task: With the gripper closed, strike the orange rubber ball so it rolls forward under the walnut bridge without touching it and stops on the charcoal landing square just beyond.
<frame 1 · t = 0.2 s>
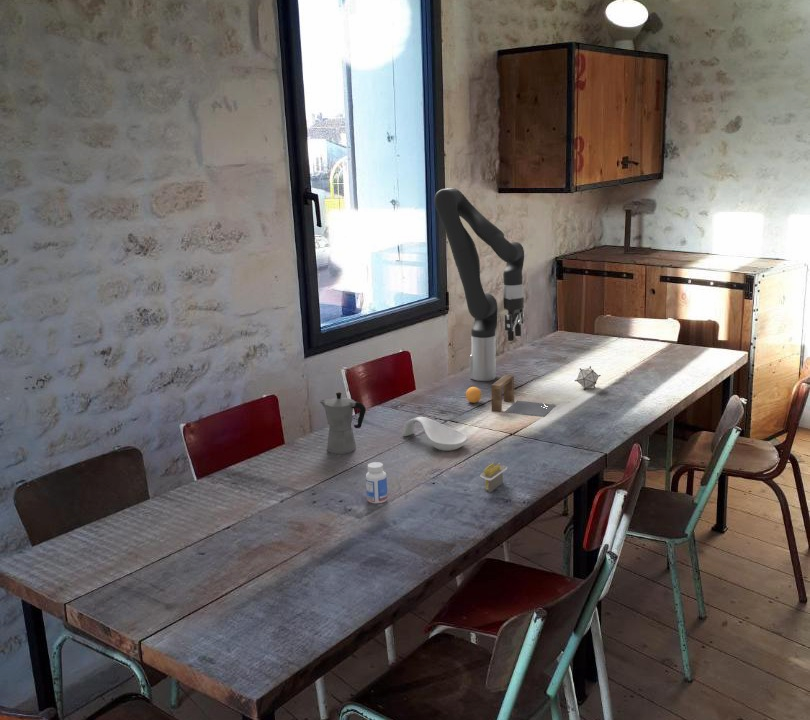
hand: (514, 338, 324), 17 cm above the table, tool pointing down, fingers open, 8 cm apart
spoon rest: (433, 444, 264), on the table
coffeepot: (344, 450, 261), on the table
ball: (473, 394, 303), on the table
game die: (587, 389, 316), on the table
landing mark: (530, 408, 295), on the table
pill bottle: (377, 500, 223), on the table
bridge: (502, 405, 299), on the table
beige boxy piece: (492, 489, 229), on the table
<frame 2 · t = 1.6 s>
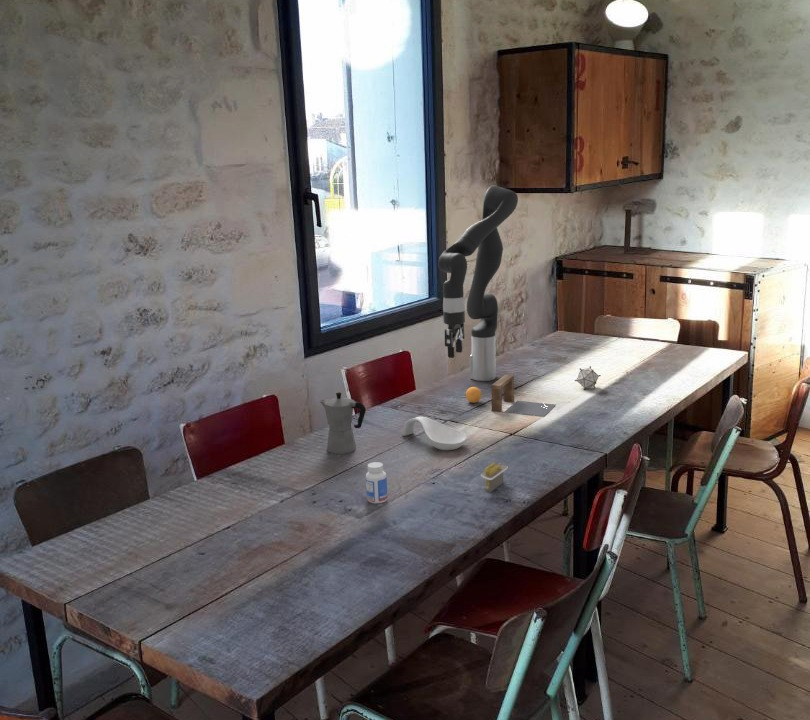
hand: (455, 354, 303), 17 cm above the table, tool pointing down, fingers open, 8 cm apart
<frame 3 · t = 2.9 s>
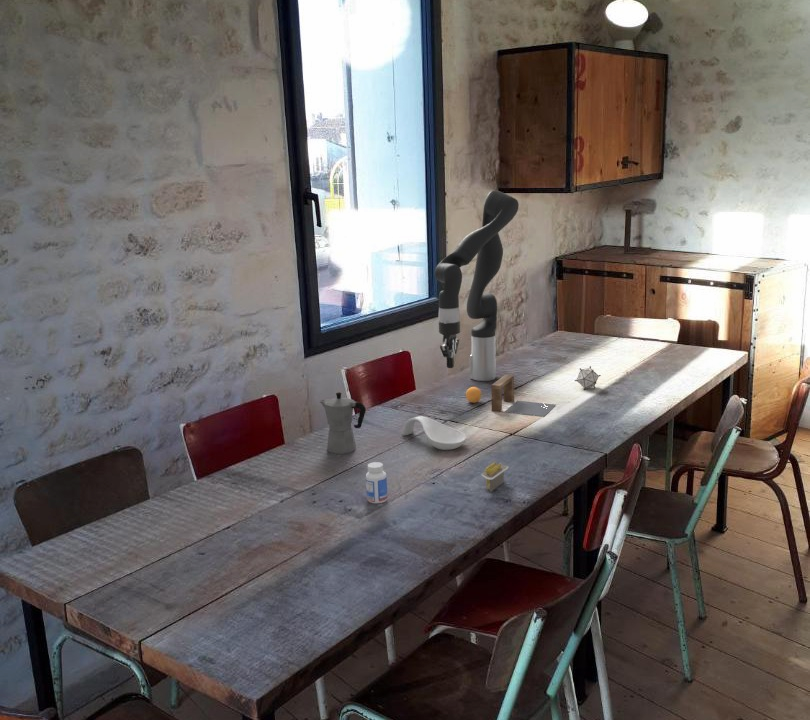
hand: (450, 367, 304), 12 cm above the table, tool pointing down, fingers closed
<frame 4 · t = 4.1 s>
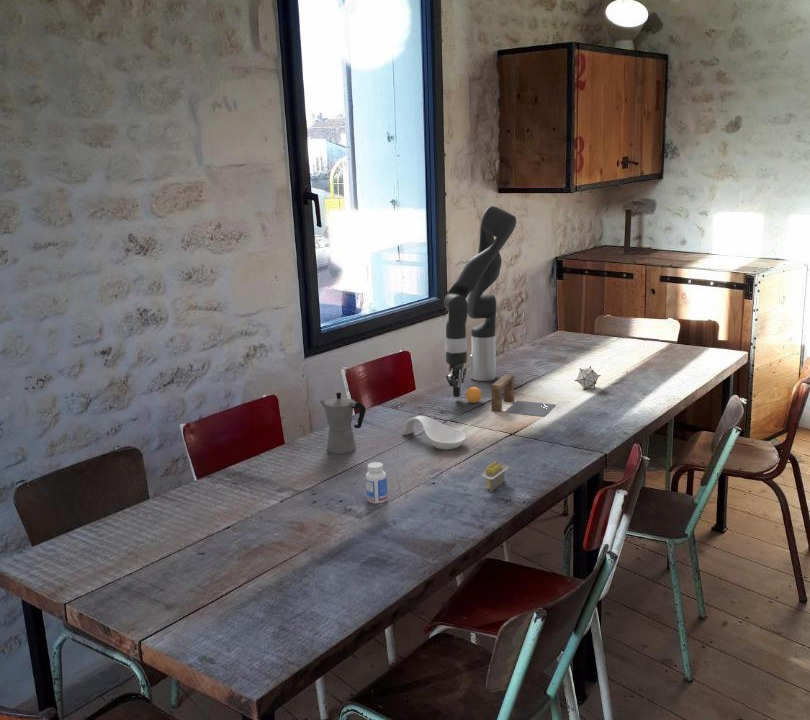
hand: (456, 396, 306), 2 cm above the table, tool pointing down, fingers closed
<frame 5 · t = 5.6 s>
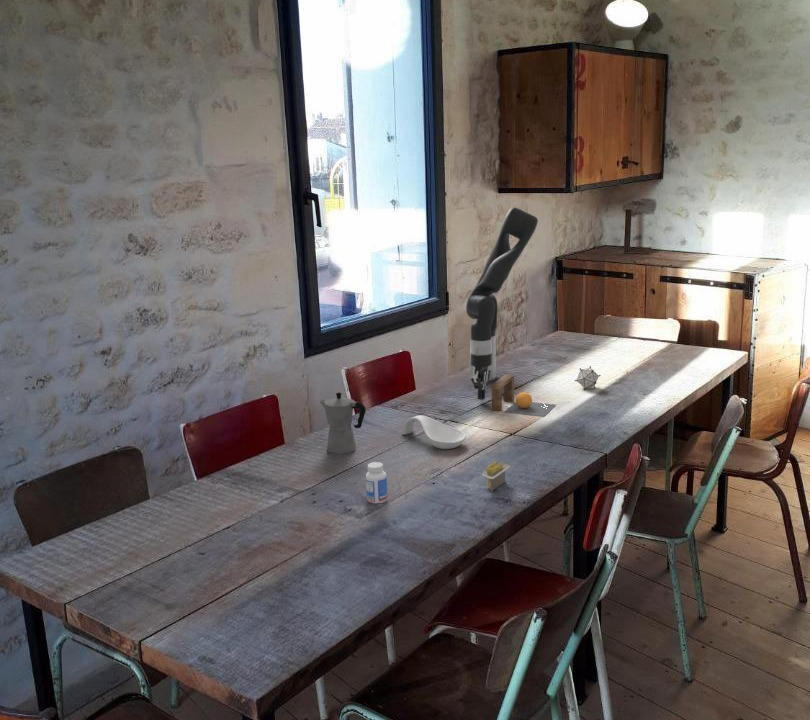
hand: (481, 399, 302), 2 cm above the table, tool pointing down, fingers closed
ball: (523, 400, 295), on the table
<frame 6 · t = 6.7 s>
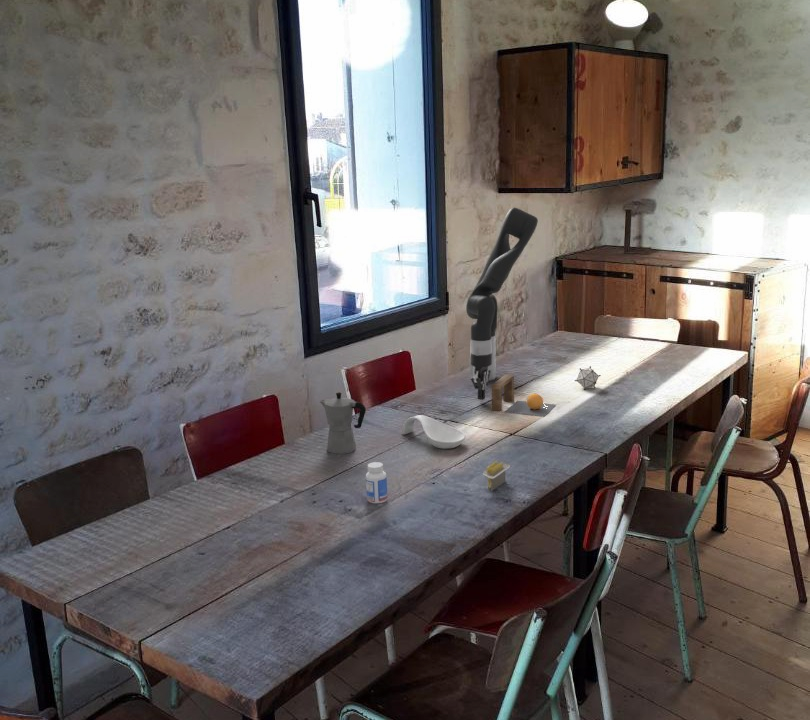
hand: (481, 399, 302), 2 cm above the table, tool pointing down, fingers closed
ball: (534, 401, 293), on the table
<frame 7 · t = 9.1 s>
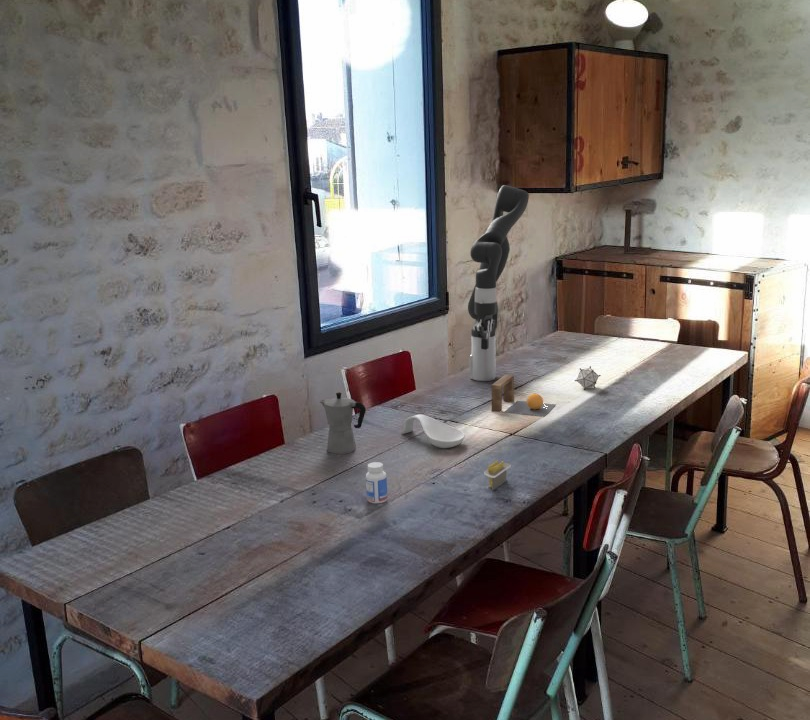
hand: (484, 348, 298), 20 cm above the table, tool pointing down, fingers closed
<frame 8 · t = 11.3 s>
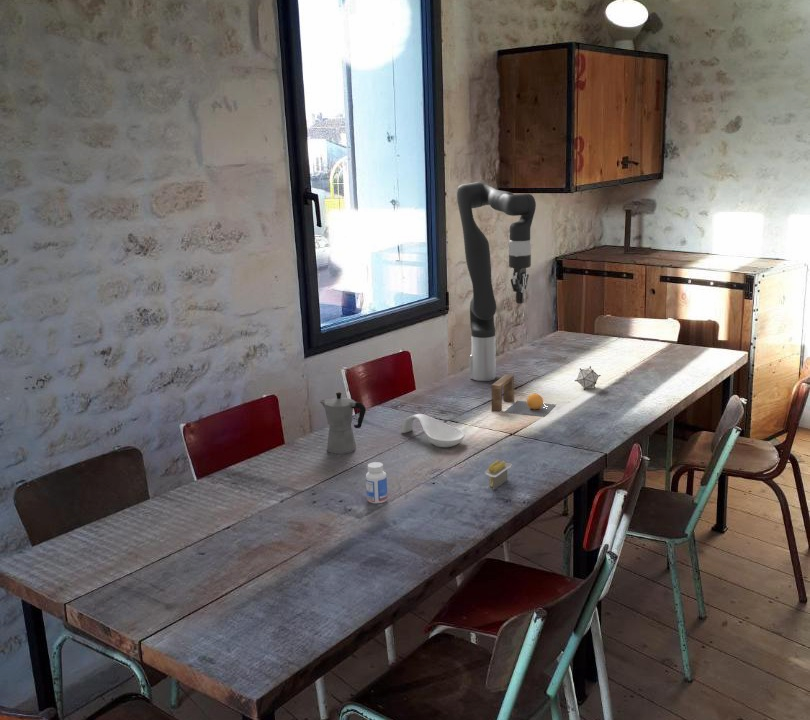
hand: (519, 303, 297), 35 cm above the table, tool pointing down, fingers closed
at the end: ball 1.7 cm from the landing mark (horizontally); ball never touched bridge; ball at rest at the end (0.0 cm/s) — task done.
